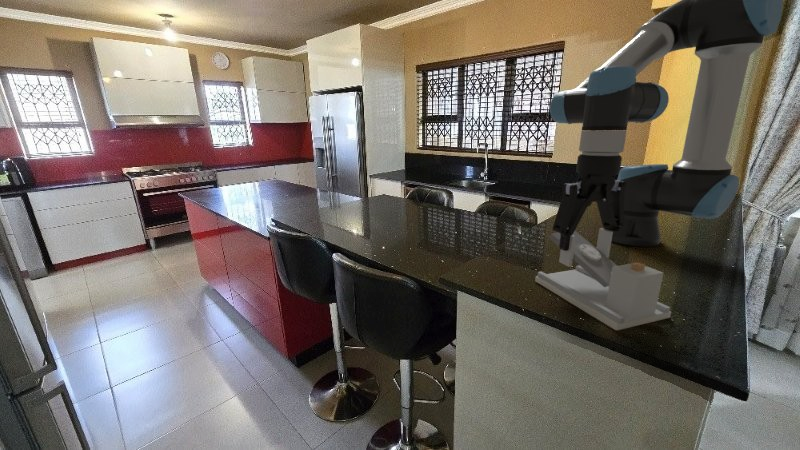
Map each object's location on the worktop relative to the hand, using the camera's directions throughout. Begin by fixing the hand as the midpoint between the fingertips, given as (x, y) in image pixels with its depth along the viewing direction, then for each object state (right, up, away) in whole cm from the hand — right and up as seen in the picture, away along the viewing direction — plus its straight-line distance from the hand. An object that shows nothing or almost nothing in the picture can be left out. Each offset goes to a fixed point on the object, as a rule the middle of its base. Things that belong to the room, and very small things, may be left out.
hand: (583, 261), depth 72 cm
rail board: (+1, -7, -2) cm, 8 cm away
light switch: (0, -3, 0) cm, 3 cm away
